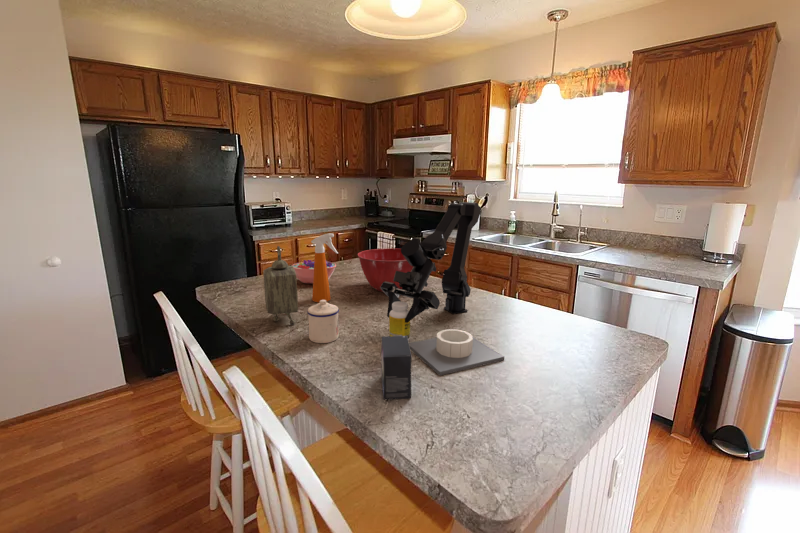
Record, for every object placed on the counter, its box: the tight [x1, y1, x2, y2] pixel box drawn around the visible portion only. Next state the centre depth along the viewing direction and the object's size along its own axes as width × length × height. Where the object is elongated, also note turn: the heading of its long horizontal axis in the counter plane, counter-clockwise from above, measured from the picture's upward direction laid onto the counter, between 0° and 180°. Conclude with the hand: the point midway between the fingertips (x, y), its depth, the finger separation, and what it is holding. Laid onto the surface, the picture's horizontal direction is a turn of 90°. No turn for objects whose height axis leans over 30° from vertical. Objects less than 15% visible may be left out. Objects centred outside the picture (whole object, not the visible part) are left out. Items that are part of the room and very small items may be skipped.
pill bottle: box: [388, 300, 411, 341], centre depth 112 cm, size 6×6×11 cm
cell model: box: [291, 259, 337, 285], centre depth 172 cm, size 17×20×11 cm
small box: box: [380, 335, 413, 401], centre depth 87 cm, size 11×6×10 cm, turn 5°
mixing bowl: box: [357, 248, 413, 293], centre depth 164 cm, size 28×28×16 cm
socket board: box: [409, 328, 505, 377], centre depth 105 cm, size 20×18×5 cm
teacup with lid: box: [307, 300, 340, 344], centre depth 114 cm, size 12×9×12 cm
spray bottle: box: [310, 232, 339, 304], centre depth 145 cm, size 7×11×26 cm, turn 80°
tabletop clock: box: [262, 245, 299, 326], centre depth 124 cm, size 14×9×25 cm, turn 23°
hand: (396, 319), depth 111 cm, fingers closed on pill bottle, 6 cm apart
